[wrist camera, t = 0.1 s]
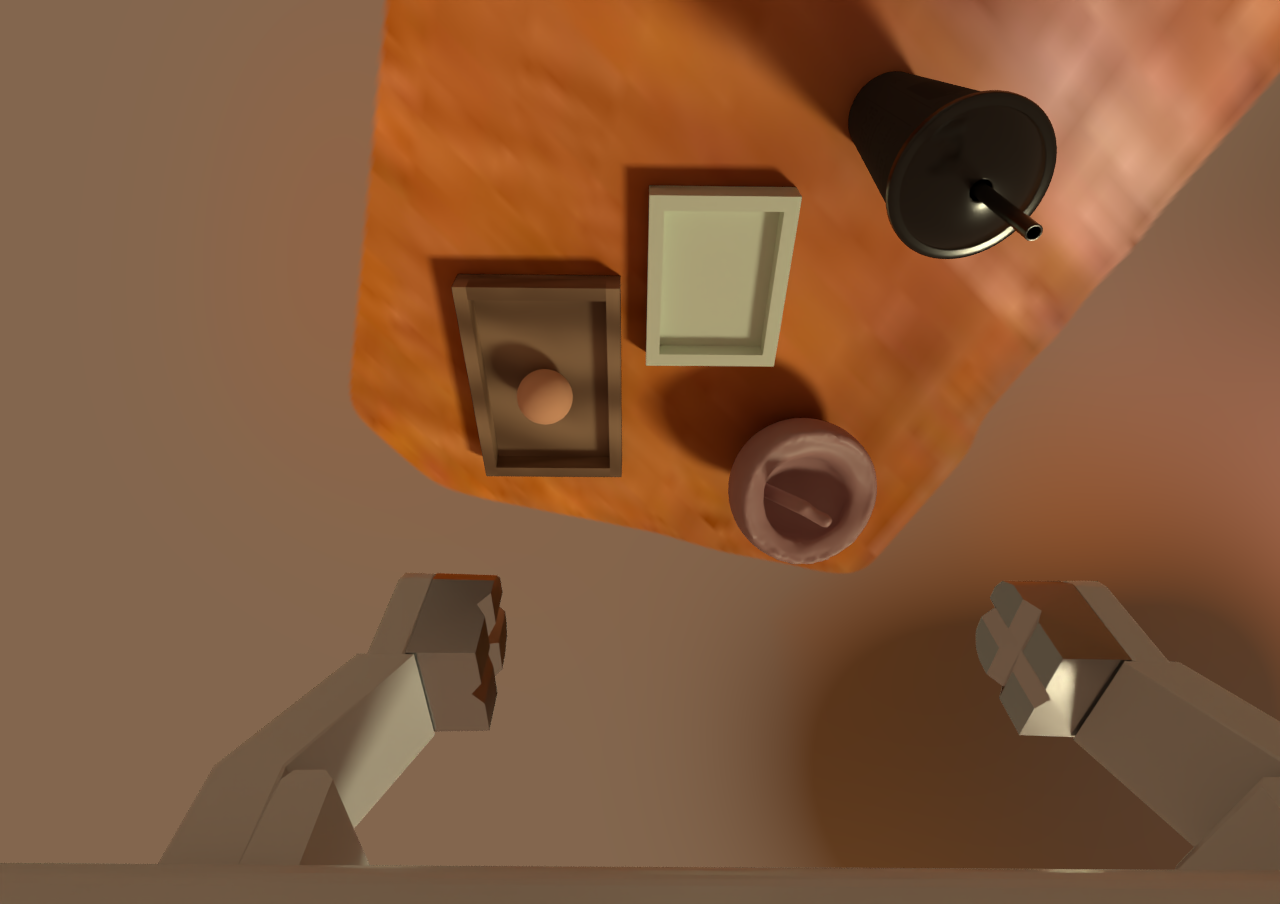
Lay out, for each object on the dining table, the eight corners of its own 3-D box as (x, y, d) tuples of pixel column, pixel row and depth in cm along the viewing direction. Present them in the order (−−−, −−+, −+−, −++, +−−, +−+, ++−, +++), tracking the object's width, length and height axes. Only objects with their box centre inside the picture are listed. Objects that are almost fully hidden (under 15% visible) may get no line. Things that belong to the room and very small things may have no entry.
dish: (458, 274, 48) (451, 287, 46) (620, 275, 48) (619, 288, 47) (490, 460, 60) (486, 476, 58) (621, 461, 60) (621, 477, 58)
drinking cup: (800, 135, 42) (894, 262, 27) (886, 15, 38) (1057, 83, 23) (885, 199, 45) (1016, 348, 29) (975, 93, 41) (1181, 201, 25)
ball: (518, 358, 52) (509, 389, 49) (573, 358, 52) (568, 389, 49) (523, 403, 55) (516, 435, 51) (576, 403, 55) (571, 435, 51)
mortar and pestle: (884, 416, 57) (929, 508, 48) (809, 507, 64) (837, 602, 55) (763, 370, 54) (787, 460, 45) (699, 472, 61) (709, 566, 52)
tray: (649, 185, 44) (649, 195, 43) (796, 187, 44) (801, 196, 43) (645, 352, 52) (646, 365, 51) (769, 353, 52) (773, 366, 51)
